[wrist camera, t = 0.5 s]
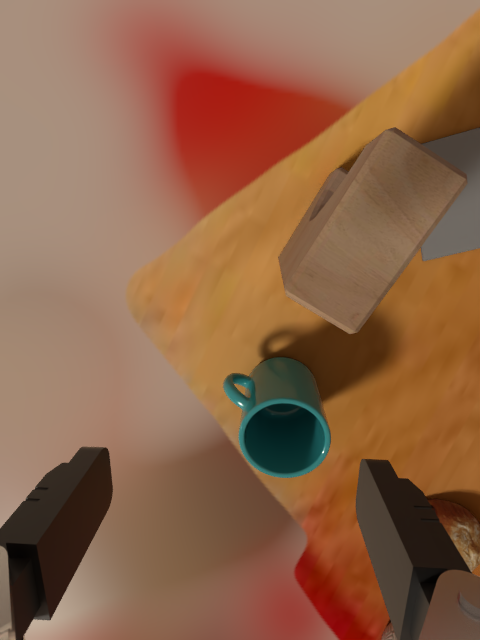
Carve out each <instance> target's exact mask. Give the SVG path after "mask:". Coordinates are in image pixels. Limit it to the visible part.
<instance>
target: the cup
mask: <svg viewBox="0 0 480 640" xmlns="http://www.w3.org/2000/svg"><path fill="white" fill-rule="evenodd" d="M234 384H238V385H241V386H244V387H245V388H246V389H245V395H243V394H242V393H241V392H240V391H239V390H238V389H237V388H236V387H235V385H234ZM223 388H224V391H225V393H226V395H227V396H228V398H229V399H230V400H231V401H232V402H233V403H234V404H236V405H237V406H238V407H240V408H241V409H242V415H241V422H240V428H239V444H240V448H241V450H242V453H243V455H244V456H245V458H246V459H247V460H248V462H249V463H250V464H251V465H252V466H254V467H255V468H256V469H258V470H259V471H261V472H263V473H265V474H268V475H271V476H274V477H280V478H292V477H297V476H301V475H304V474H306V473H309V472H310V471H312V470H314V469H315V468H316V467H318V466H319V465H320V464H321V463H322V461H323V460H324V459H325V457H326V455H327V453H328V451H329V448H330V443H331V434H330V429H329V425H328V422H327V418H326V415H325V411H324V407H323V404H322V400H321V397H320V393H319V390H318V386H317V383H316V380H315V377H314V375H313V374H312V372H311V371H310V370H309V369H308V368H307V367H306V366H305V365H304V364H302V363H301V362H299V361H297V360H294V359H291V358H286V357H276V358H271V359H268V360H266V361H264V362H262V363H260V364H259V365H258V366H256V367H255V368H254V369H253V371H252V372H251V373H250V375H249V376H247V375H244V374H240V373H232V374H230V375H228V376H227V377H226V378H225V380H224V383H223Z"/></svg>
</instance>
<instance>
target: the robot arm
mask: <svg viewBox="0 0 480 640" xmlns="http://www.w3.org/2000/svg"><path fill="white" fill-rule="evenodd" d="M112 492H113V486H112V477H111V467H110V459H109V451H108V449H107V448H102V447H81V448H80V449H79V450H78V452H77V453H76V454H75V456H74V457H73V458H72V459H71V461H70V462H69V463H62V464H60V465H59V466H57V467H56V468H54V469H53V470H52V471H50V472H49V473H47V474H46V475H45V477H43V479H42V480H41V481H40V482H39V483H38V485H37V486H36V487H35V490H32V492H31V493H30V494H29V495H28V496H27V498H26V501H23V502H22V503H21V505H20V506H19V507H18V508H17V509H16V511H15V512H14V513H13V514H12V515H11V517H10V518H9V519H8V520H7V521H6V522H5V524H4V525H3V526H2V527H1V528H0V640H25V635H24V634H25V633H26V630H27V629H28V627H29V625H30V624H31V622H32V620H33V619H38V620H51V618H52V616H53V614H54V612H55V610H56V608H57V606H58V604H59V602H60V601H61V599H62V597H63V595H64V593H65V591H66V589H67V587H68V585H69V583H70V581H71V580H72V578H73V576H74V574H75V572H76V570H77V568H78V566H79V564H80V562H81V561H82V558H83V557H84V555H85V553H86V551H87V549H88V547H89V545H90V543H91V541H92V539H93V538H94V536H95V534H96V532H97V530H98V528H99V526H100V524H101V522H102V520H103V519H104V517H105V515H106V513H107V511H108V509H109V506H110V503H111V499H112ZM356 513H357V519H358V523H359V526H360V529H361V532H362V535H363V538H364V541H365V544H366V547H367V550H368V553H369V556H370V559H371V562H372V565H373V568H374V571H375V574H376V577H377V580H378V583H379V586H380V590H381V593H382V596H383V599H384V602H385V605H386V608H387V611H388V614H389V617H390V620H391V623H392V626H393V629H394V632H395V635H396V638H397V640H480V577H478V576H476V575H474V574H472V572H471V571H470V569H469V567H468V566H467V564H466V562H465V561H464V559H463V558H462V556H461V554H460V553H459V551H458V549H457V548H456V546H455V544H454V543H453V541H452V539H451V538H450V536H449V534H448V533H447V531H446V530H445V528H444V526H443V525H442V523H440V521H439V518H438V516H437V515H436V513H435V511H434V510H432V506H431V505H430V503H429V502H428V500H427V498H426V497H425V495H424V493H423V492H422V491H421V490H420V489H419V488H418V487H417V486H415V485H414V484H413V483H412V482H411V481H410V480H409V479H403V478H398V477H397V475H396V473H395V471H394V469H393V467H392V466H391V464H390V462H389V461H388V460H373V459H362V460H361V463H360V470H359V479H358V487H357V496H356Z"/></svg>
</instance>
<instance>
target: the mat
mask: <svg viewBox="0 0 480 640" xmlns="http://www.w3.org/2000/svg"><path fill="white" fill-rule="evenodd" d="M422 145H423V146H425V147H426V148H428V149H429V150H431V151H432V152H434V153H435V154H437V155H438V156H440V157H441V158H443V159H445V160H446V161H448V162H449V163H451V164H452V165H454V166H455V167H457V168H458V169H460V170H461V171H463V172H464V173H466V174H467V183H468V184H467V185H466V186H465V188H464V189H463V190H462V192H461V193H460V195H459V196H458V197H457V199H456V200H455V201H454V203H453V204H452V205H451V207H450V208H449V209H448V211H447V212H446V214H445V215H444V216H443V218H442V219H441V220H440V222H439V223H438V224H437V226H436V227H435V229H434V230H433V231H432V233H431V234H430V235H429V237H428V238H427V239H426V241H425V242H424V244H423V245H422V246H421V252H422V260H423V261H426V260H431V259H435V258H439V257H443V256H448V255H452V254H456V253H461V252H465V251H469V250H473V249H478V248H480V128H476V129H473V130H469V131H466V132H462V133H459V134H455V135H451V136H448V137H444V138H441V139H437V140H434V141H430V142H427V143H423V144H422Z"/></svg>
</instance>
